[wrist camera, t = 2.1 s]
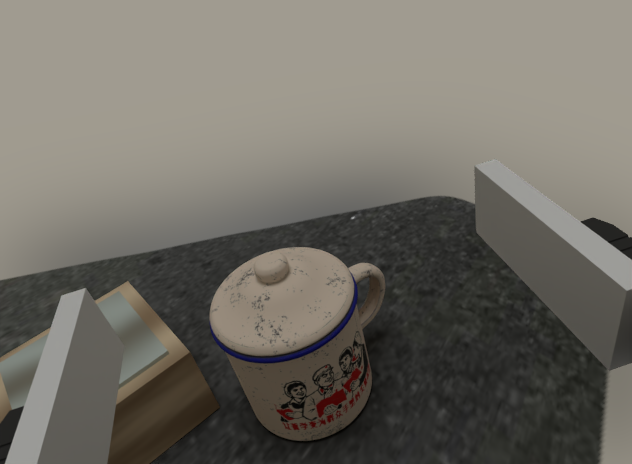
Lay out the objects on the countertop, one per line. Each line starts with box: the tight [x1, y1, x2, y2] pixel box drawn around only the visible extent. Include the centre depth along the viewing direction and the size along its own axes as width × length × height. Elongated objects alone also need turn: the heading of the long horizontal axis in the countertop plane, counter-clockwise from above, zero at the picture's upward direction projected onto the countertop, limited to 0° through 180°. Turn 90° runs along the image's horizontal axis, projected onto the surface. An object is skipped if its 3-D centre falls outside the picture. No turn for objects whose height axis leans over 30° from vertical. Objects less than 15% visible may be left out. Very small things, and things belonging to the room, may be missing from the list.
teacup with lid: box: [210, 247, 385, 441], centre depth 31 cm, size 12×9×12 cm
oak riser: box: [0, 282, 220, 464], centre depth 33 cm, size 11×11×6 cm
